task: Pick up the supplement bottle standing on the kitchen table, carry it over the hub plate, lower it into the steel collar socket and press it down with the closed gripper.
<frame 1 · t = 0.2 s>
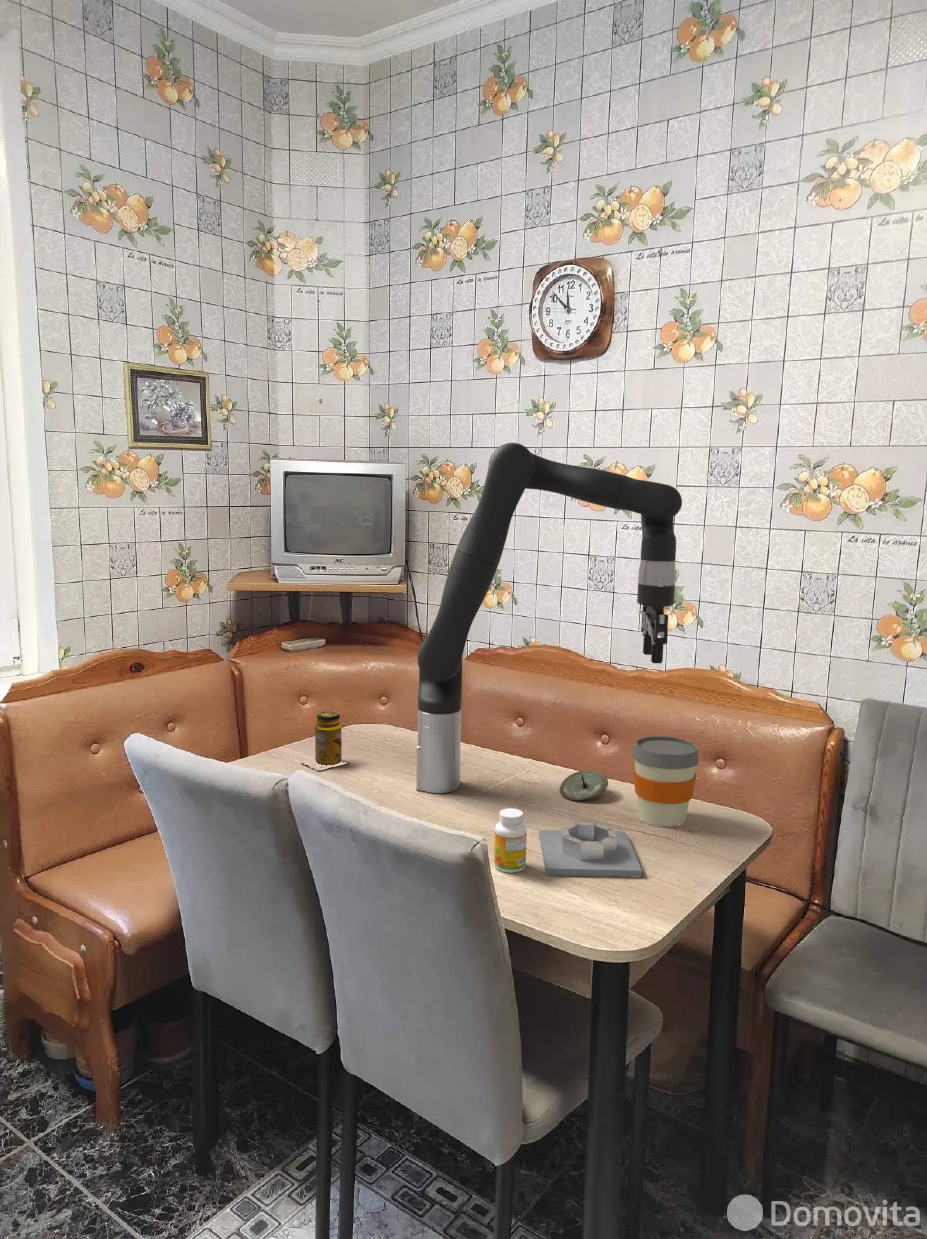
hand: (652, 658, 176), 29 cm above the table, tool pointing down, fingers open, 8 cm apart
lid: (583, 795, 179), on the table
hub plate: (587, 855, 149), on the table
reusable coffee cup: (661, 818, 166), on the table
supplement bottle: (509, 867, 144), on the table
condiment: (325, 765, 195), on the table
steel collar: (588, 841, 148), on the hub plate, point 3 cm above the table
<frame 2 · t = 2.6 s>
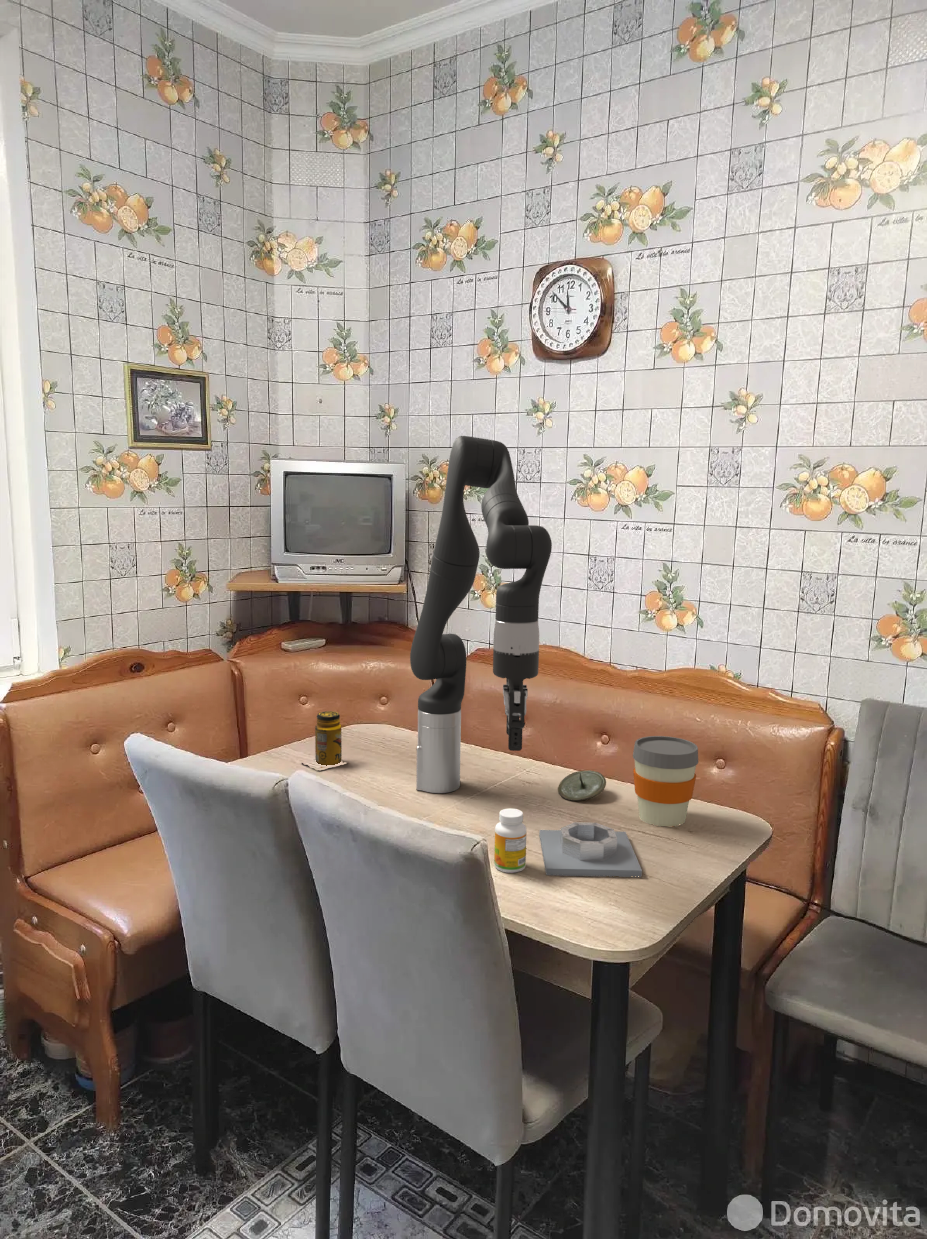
hand: (513, 742, 141), 22 cm above the table, tool pointing down, fingers open, 8 cm apart
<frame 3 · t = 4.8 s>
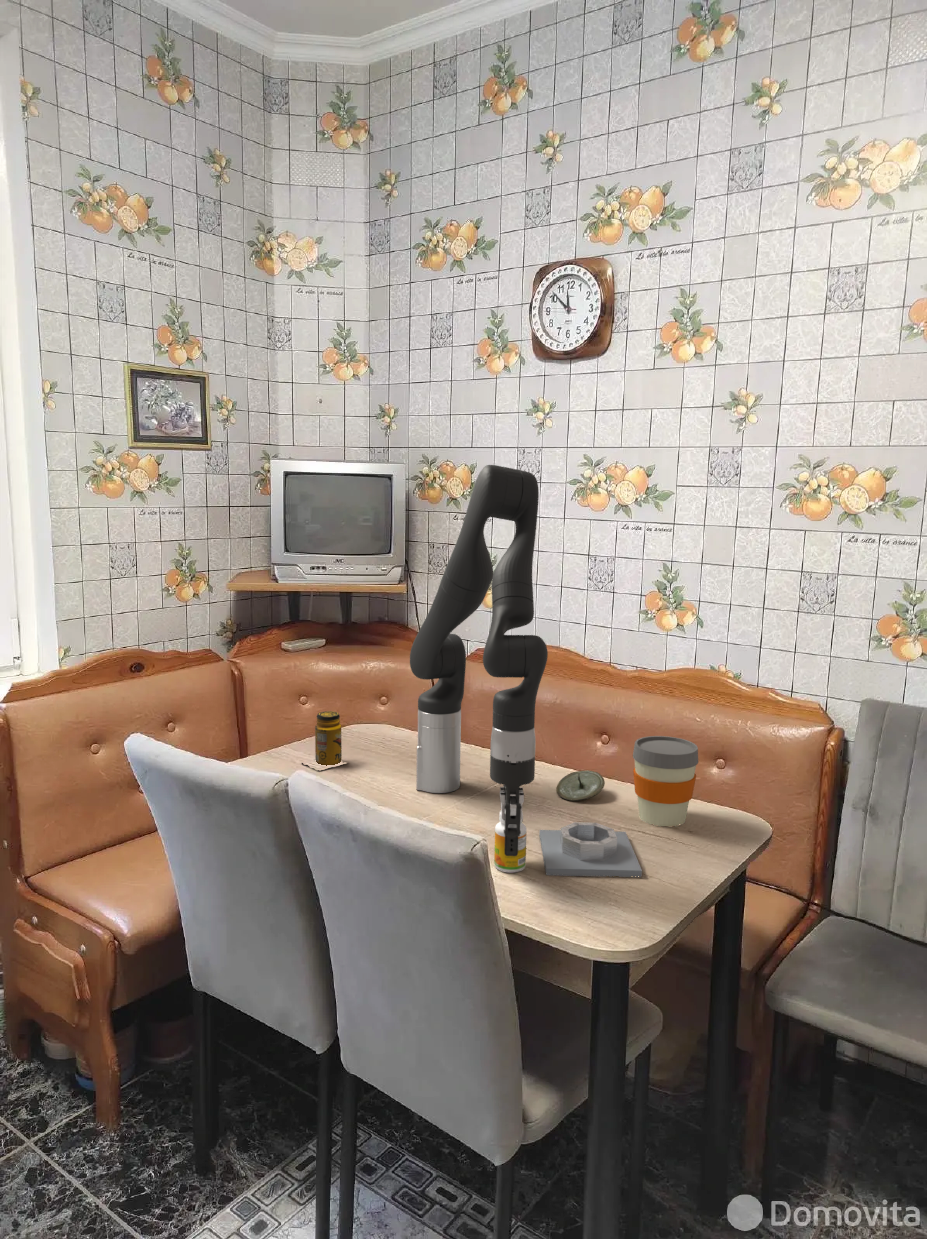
hand: (510, 847, 144), 4 cm above the table, tool pointing down, fingers closed on supplement bottle, 5 cm apart
supplement bottle: (509, 867, 144), on the table, touching gripper
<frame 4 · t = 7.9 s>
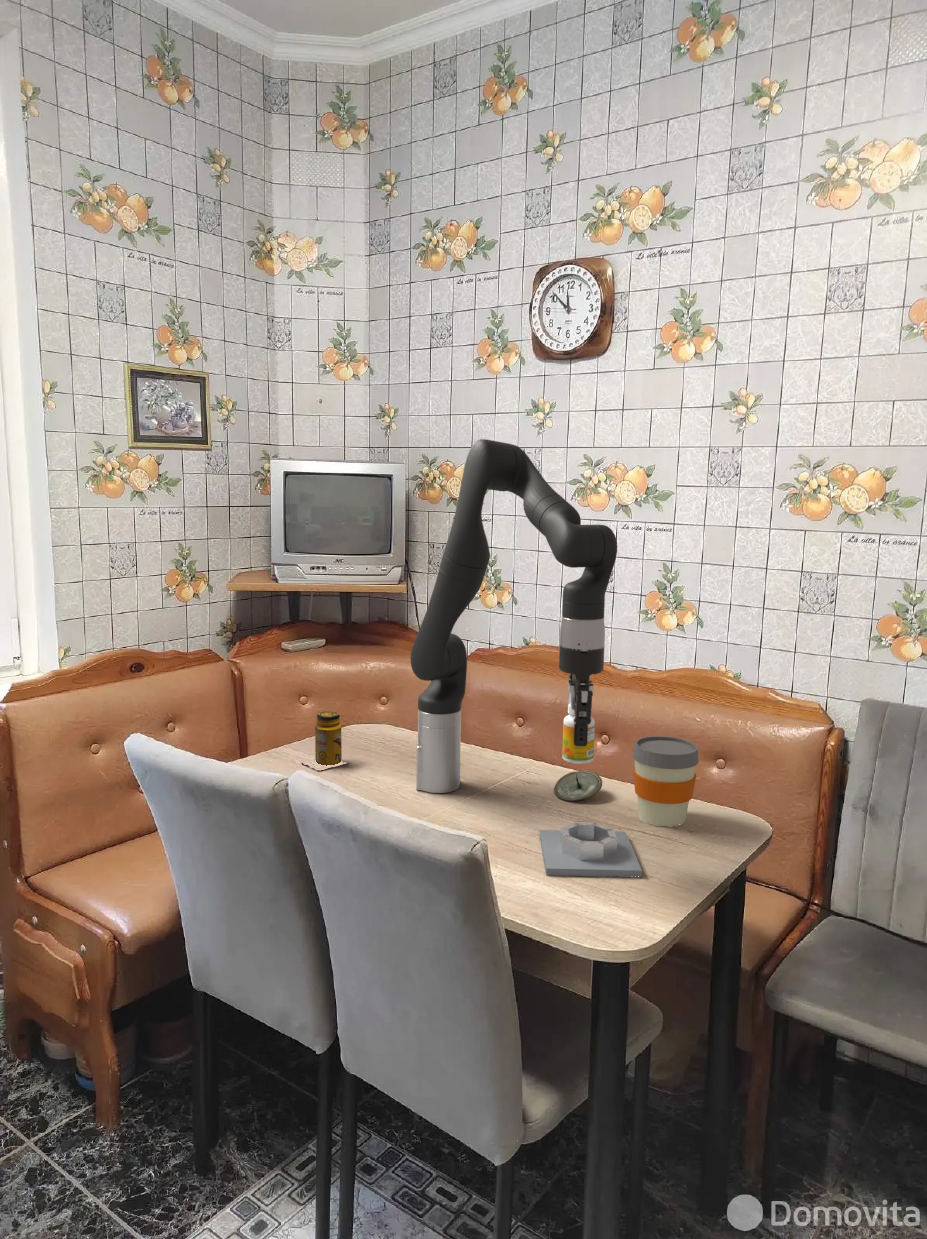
hand: (578, 739, 144), 22 cm above the table, tool pointing down, fingers closed on supplement bottle, 5 cm apart
supplement bottle: (577, 760, 145), point 18 cm above the table, touching gripper
when the fingers open (6 cm above the table, at t = 11.0 s): supplement bottle stays where it is, resting on hub plate.
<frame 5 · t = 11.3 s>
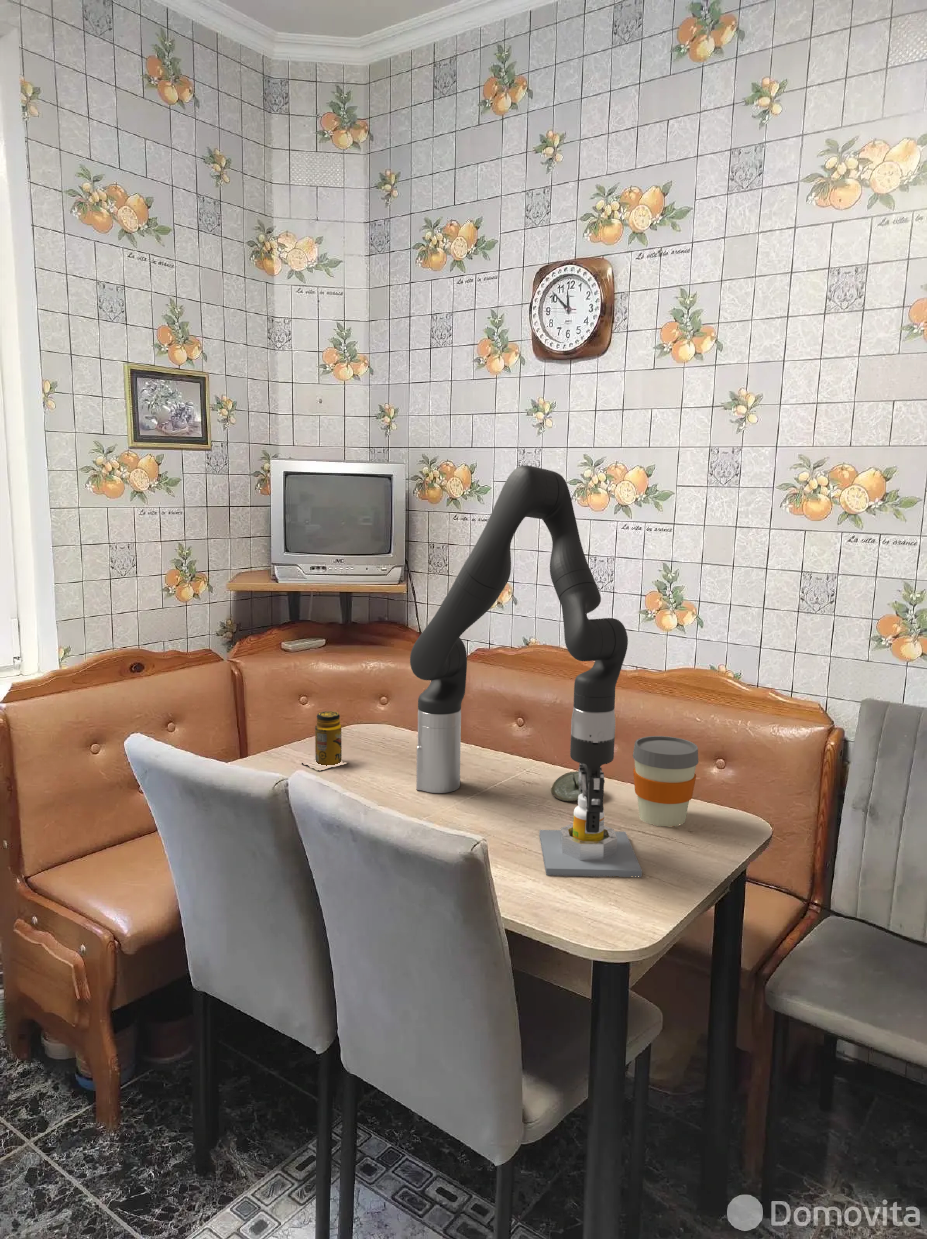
hand: (589, 821, 148), 6 cm above the table, tool pointing down, fingers open, 8 cm apart
supplement bottle: (587, 850, 149), point 1 cm above the table, touching hub plate
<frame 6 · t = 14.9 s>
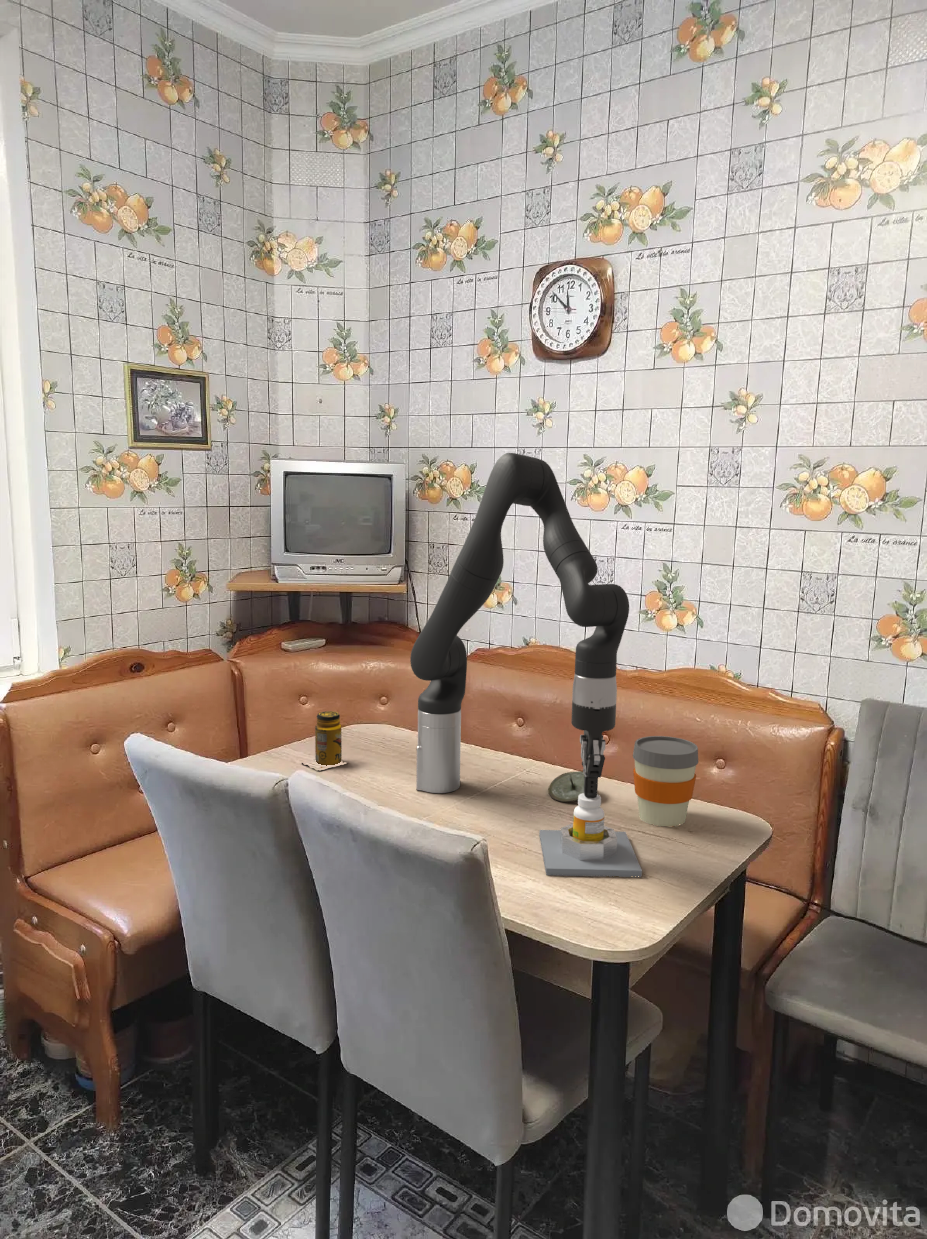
hand: (590, 796, 147), 11 cm above the table, tool pointing down, fingers closed
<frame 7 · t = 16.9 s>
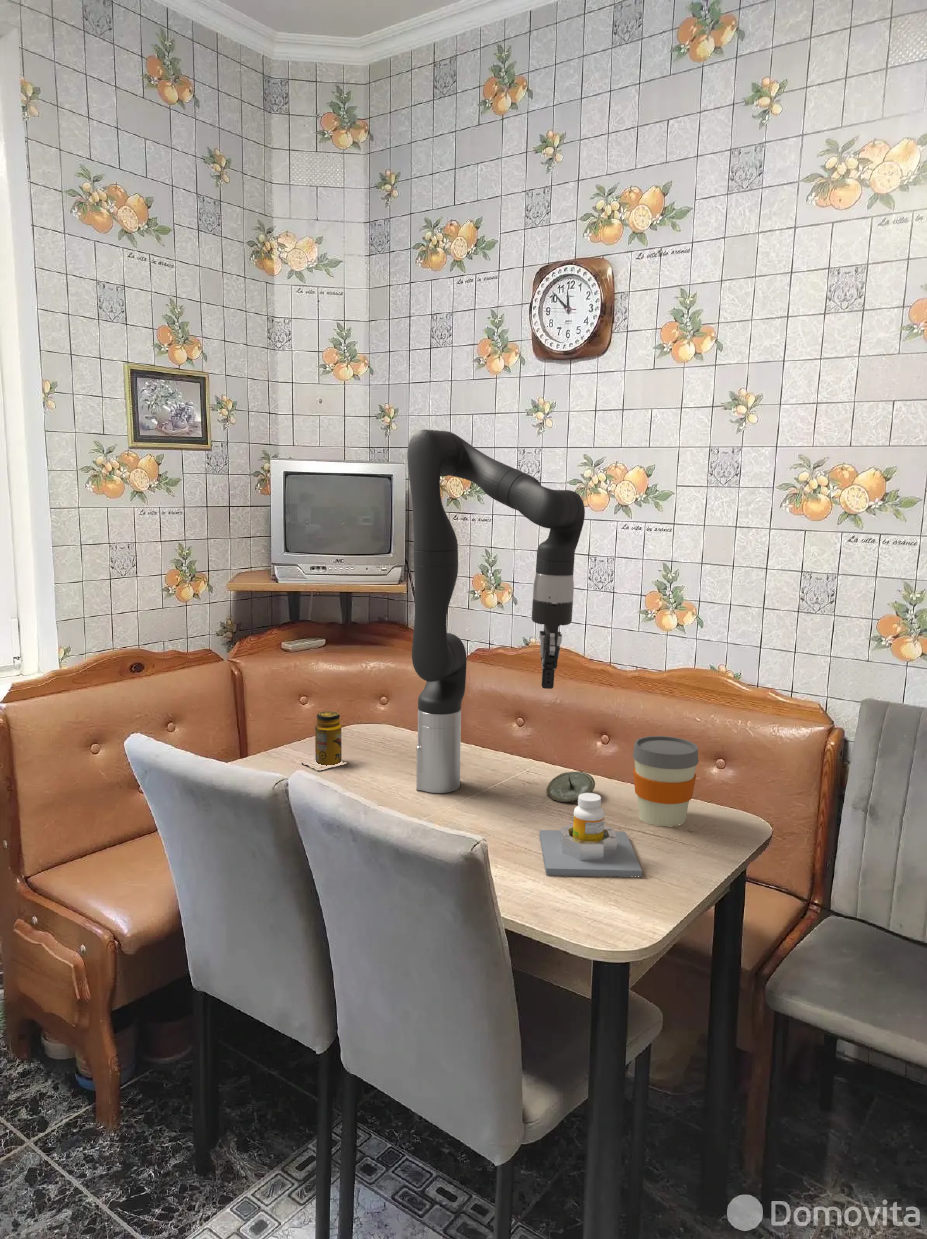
hand: (547, 687, 160), 27 cm above the table, tool pointing down, fingers closed
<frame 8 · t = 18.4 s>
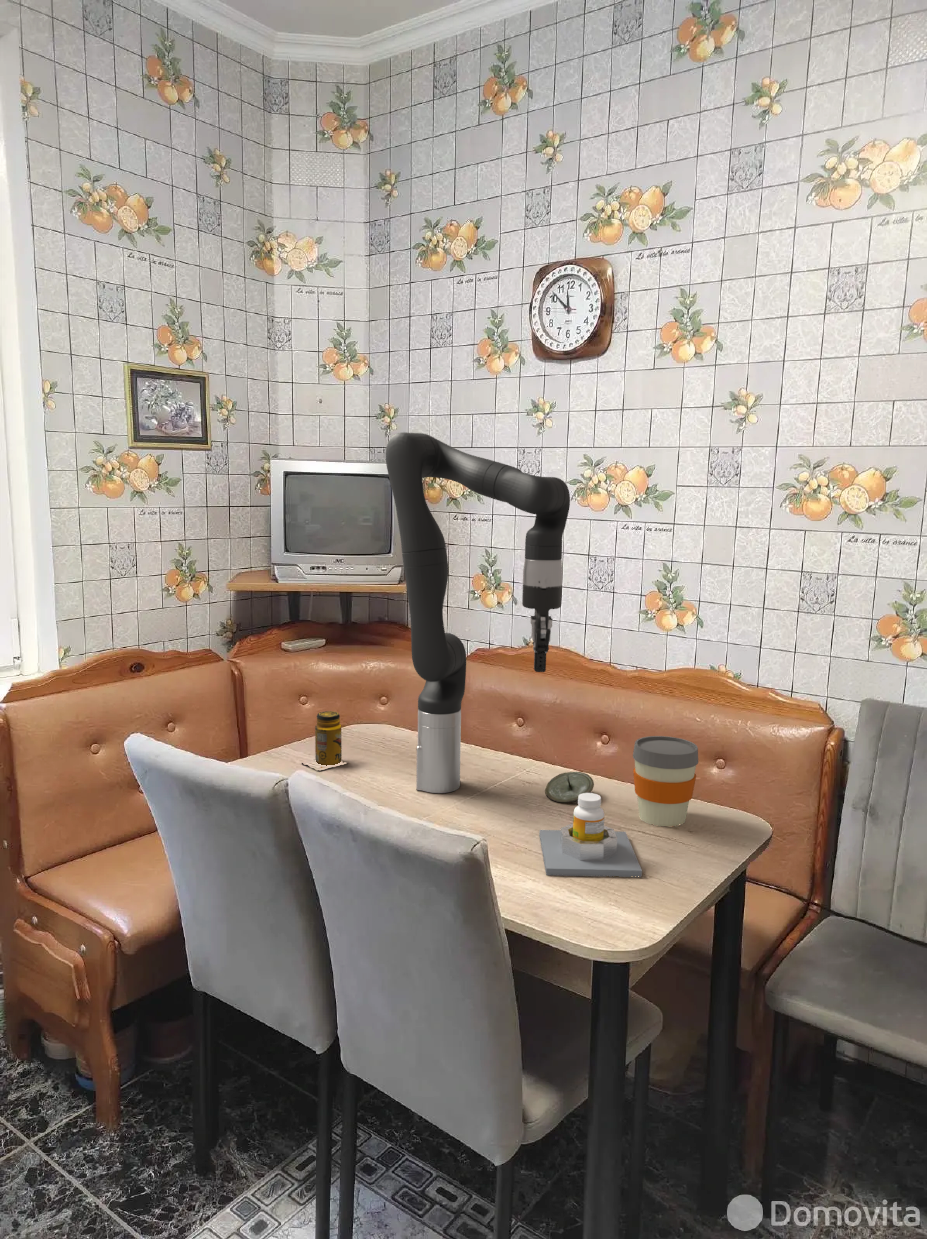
hand: (539, 671, 163), 29 cm above the table, tool pointing down, fingers closed
at the end: supplement bottle 0.1 cm off-centre on the steel collar, point 1.0 cm above the steel collar's base; supplement bottle tilted 0°; the gripper is holding nothing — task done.
